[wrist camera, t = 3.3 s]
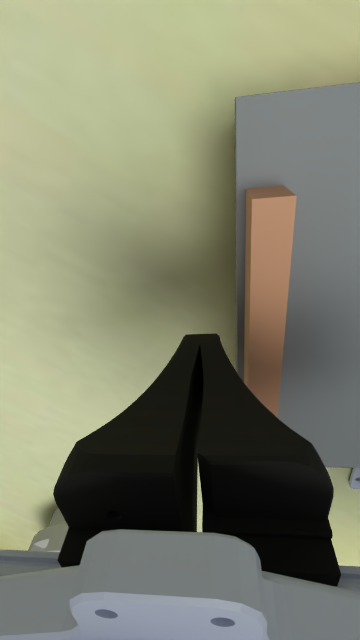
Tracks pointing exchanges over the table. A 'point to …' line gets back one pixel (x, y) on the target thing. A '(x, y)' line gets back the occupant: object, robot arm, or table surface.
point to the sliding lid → (301, 262)
